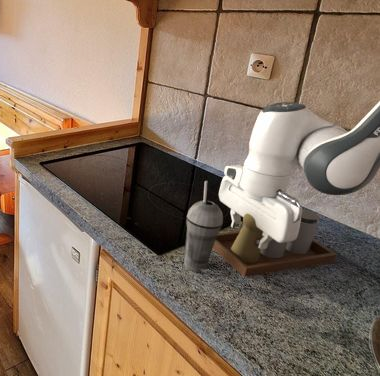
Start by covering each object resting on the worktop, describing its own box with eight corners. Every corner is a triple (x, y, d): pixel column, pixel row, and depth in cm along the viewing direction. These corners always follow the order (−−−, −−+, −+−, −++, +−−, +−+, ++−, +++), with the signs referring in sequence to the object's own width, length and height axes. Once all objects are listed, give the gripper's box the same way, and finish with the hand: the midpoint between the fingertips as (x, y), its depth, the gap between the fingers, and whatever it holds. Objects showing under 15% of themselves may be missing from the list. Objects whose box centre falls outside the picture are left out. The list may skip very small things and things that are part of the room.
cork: (232, 242, 95) (245, 203, 90) (260, 251, 92) (275, 211, 87) (227, 256, 91) (241, 216, 85) (257, 266, 88) (273, 225, 82)
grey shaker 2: (294, 239, 98) (305, 206, 94) (314, 252, 93) (327, 218, 89) (275, 242, 97) (285, 209, 93) (294, 256, 92) (305, 221, 88)
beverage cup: (208, 279, 85) (228, 193, 76) (173, 268, 88) (189, 184, 79) (215, 262, 90) (234, 180, 82) (182, 252, 94) (197, 172, 85)
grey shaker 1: (270, 243, 97) (280, 209, 93) (289, 256, 92) (301, 222, 88) (250, 246, 95) (259, 212, 91) (268, 260, 90) (279, 225, 86)
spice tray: (286, 233, 102) (289, 223, 101) (333, 264, 90) (337, 254, 89) (204, 244, 97) (207, 234, 96) (243, 279, 85) (246, 268, 84)
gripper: (317, 201, 76) (296, 262, 81) (243, 162, 93) (230, 214, 99) (290, 205, 74) (270, 267, 80) (220, 164, 92) (208, 217, 98)
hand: (247, 237), depth 90 cm, fingers open, 7 cm apart
